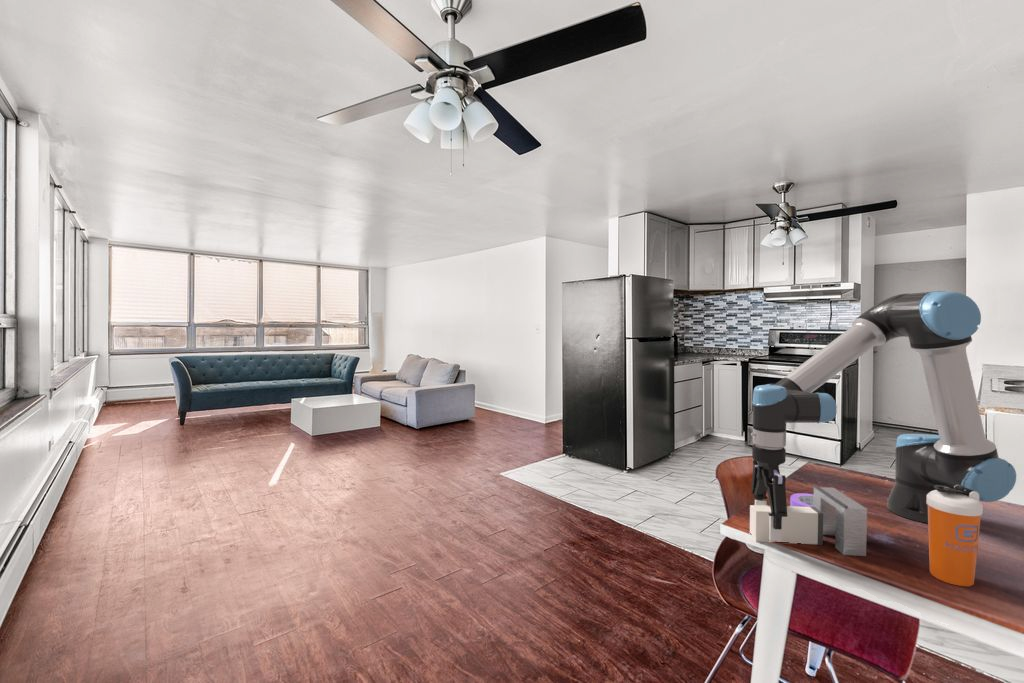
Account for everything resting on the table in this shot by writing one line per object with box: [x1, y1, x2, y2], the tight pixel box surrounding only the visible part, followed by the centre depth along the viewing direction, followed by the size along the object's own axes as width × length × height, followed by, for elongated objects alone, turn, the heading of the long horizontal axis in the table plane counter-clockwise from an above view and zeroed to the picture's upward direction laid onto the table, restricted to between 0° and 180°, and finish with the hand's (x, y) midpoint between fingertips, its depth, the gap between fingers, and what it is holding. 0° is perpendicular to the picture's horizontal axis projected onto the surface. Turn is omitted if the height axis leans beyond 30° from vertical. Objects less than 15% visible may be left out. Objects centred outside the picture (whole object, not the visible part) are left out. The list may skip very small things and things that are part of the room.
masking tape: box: [789, 492, 814, 507], centre depth 135 cm, size 12×12×4 cm
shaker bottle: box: [926, 485, 984, 587], centre depth 101 cm, size 9×9×20 cm
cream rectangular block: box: [749, 504, 824, 546], centre depth 119 cm, size 16×4×8 cm, turn 83°
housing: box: [812, 484, 868, 557], centre depth 118 cm, size 5×14×12 cm, turn 173°
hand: (767, 531), depth 120 cm, fingers open, 8 cm apart
